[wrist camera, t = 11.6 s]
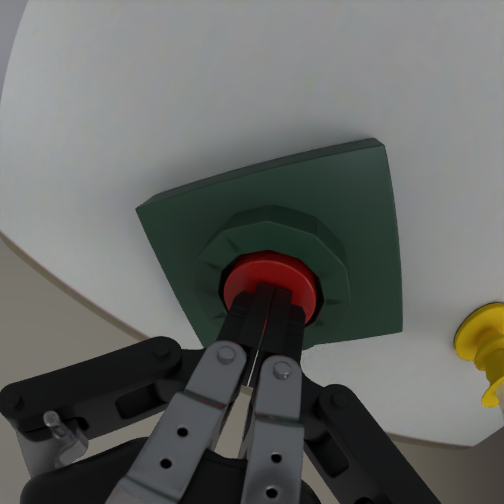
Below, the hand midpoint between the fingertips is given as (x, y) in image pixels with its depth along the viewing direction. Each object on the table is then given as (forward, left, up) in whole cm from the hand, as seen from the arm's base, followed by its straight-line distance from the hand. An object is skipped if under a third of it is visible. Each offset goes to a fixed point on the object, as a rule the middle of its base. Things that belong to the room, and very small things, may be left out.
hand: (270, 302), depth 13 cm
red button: (0, 0, -2) cm, 2 cm away
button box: (0, 0, -4) cm, 4 cm away
